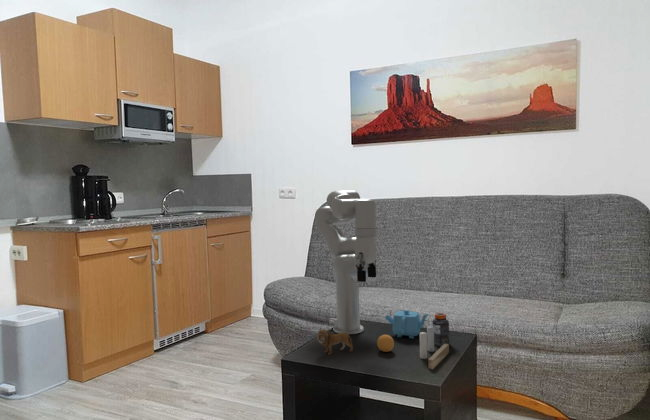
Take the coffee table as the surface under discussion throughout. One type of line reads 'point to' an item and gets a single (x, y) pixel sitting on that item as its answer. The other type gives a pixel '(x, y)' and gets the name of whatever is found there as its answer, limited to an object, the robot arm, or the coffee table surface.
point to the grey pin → (430, 338)
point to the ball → (385, 343)
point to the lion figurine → (333, 340)
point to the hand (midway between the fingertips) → (367, 279)
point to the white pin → (423, 345)
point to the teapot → (406, 323)
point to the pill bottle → (441, 329)
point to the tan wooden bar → (438, 356)
